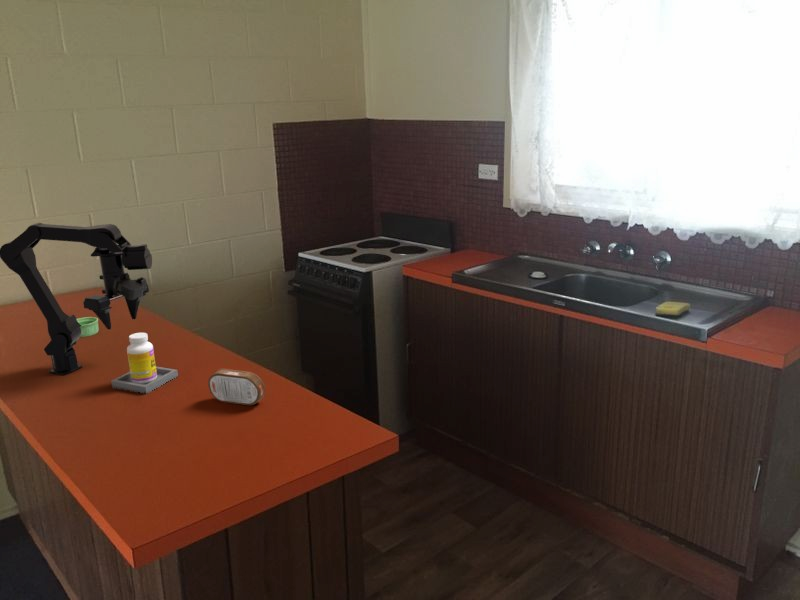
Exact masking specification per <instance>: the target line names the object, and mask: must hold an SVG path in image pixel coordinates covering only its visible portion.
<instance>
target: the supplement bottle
mask: <svg viewBox="0 0 800 600" xmlns="http://www.w3.org/2000/svg"><path fill="white" fill-rule="evenodd" d="M148 339H149V336H148V333H146V332H136V333H131V334H130V335H129V336H128V340H129V343H130V344H129V345H128V346H127V347H126V352H127V354H126V355H127V359H128V360H127V361H128V365H129V372H130V374H131V380H132V382H133V383H137V384H145V383H150V382H152V381H154V380H155V379H156V378H157V371H156V367H157V365H156V358H155V351H154V345H153V343H151V342H150V341H148Z"/></svg>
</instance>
